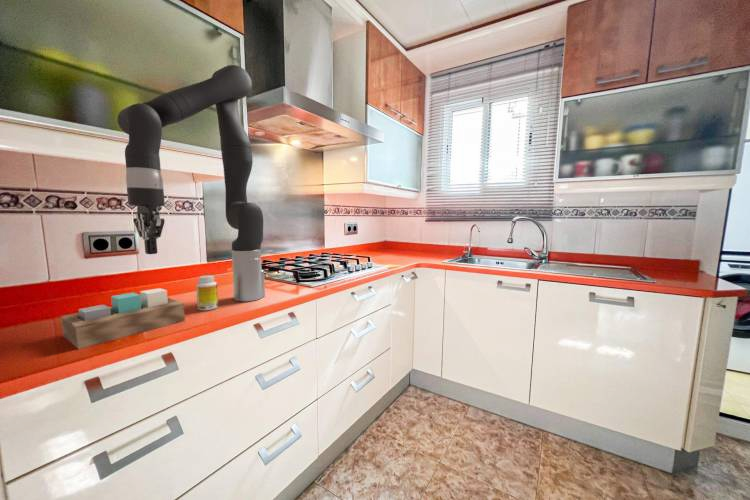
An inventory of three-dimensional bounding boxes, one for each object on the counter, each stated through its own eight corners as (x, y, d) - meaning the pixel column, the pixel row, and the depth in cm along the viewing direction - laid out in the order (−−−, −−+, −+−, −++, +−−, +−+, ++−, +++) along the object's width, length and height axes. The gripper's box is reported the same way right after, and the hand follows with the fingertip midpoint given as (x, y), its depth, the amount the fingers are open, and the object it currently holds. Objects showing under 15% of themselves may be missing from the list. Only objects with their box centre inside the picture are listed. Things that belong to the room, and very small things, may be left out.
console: (164, 312, 87) (163, 296, 86) (184, 320, 80) (183, 303, 80) (63, 336, 69) (61, 316, 69) (78, 349, 63) (76, 326, 62)
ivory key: (160, 301, 82) (159, 288, 82) (168, 304, 80) (167, 290, 80) (141, 305, 79) (140, 291, 78) (148, 308, 76) (147, 293, 76)
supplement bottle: (221, 308, 92) (219, 276, 91) (201, 312, 88) (199, 278, 87) (214, 304, 95) (213, 273, 94) (195, 308, 91) (193, 276, 90)
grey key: (105, 320, 73) (103, 304, 72) (111, 323, 70) (110, 307, 70) (80, 325, 69) (78, 309, 68) (86, 329, 66) (84, 312, 66)
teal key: (134, 307, 77) (133, 292, 77) (141, 310, 75) (140, 295, 75) (112, 311, 74) (111, 296, 73) (119, 315, 71) (117, 299, 71)
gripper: (173, 187, 75) (179, 254, 78) (151, 189, 83) (156, 250, 85) (138, 184, 69) (145, 257, 71) (117, 187, 76) (124, 253, 78)
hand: (151, 253), depth 78 cm, fingers closed
